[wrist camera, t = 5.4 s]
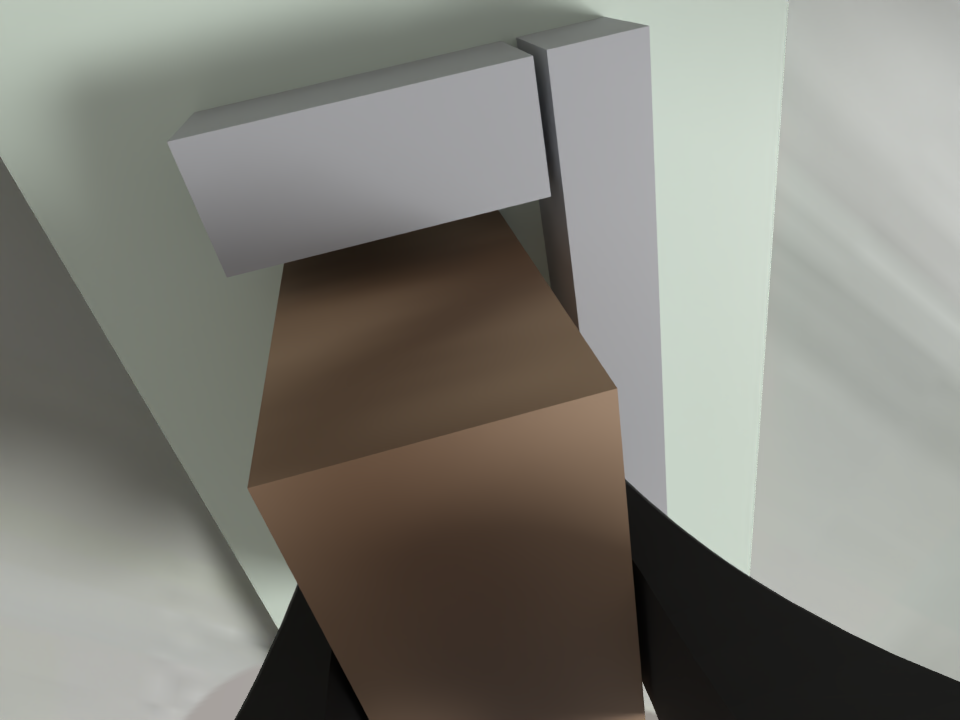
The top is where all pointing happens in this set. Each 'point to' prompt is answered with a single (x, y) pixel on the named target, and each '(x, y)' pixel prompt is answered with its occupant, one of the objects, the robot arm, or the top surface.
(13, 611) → the top surface
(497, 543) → the brown rectangular box
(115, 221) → the board
